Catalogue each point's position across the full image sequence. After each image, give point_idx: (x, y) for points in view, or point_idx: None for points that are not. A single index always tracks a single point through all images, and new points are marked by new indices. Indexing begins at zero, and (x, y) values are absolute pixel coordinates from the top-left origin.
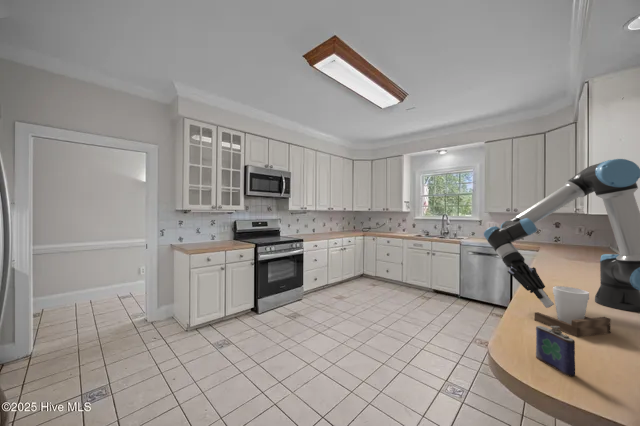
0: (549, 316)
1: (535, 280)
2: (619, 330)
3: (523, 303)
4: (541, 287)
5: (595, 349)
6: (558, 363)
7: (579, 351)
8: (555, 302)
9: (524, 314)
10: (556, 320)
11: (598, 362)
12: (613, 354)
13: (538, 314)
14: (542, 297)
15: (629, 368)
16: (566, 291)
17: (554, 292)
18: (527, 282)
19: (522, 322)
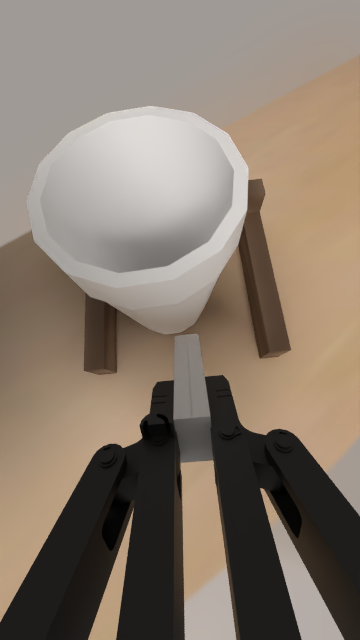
0: (260, 297)
1: (154, 545)
2: (40, 254)
3: (103, 627)
4: (172, 424)
5: (273, 161)
6: None
7: (332, 154)
8: (208, 291)
9: (266, 431)
10: (269, 258)
11: (334, 116)
12: (252, 142)
13: (286, 331)
14: (208, 381)
15: (285, 100)
16: (227, 146)
17: (233, 246)
18: (324, 500)
19: (356, 340)
